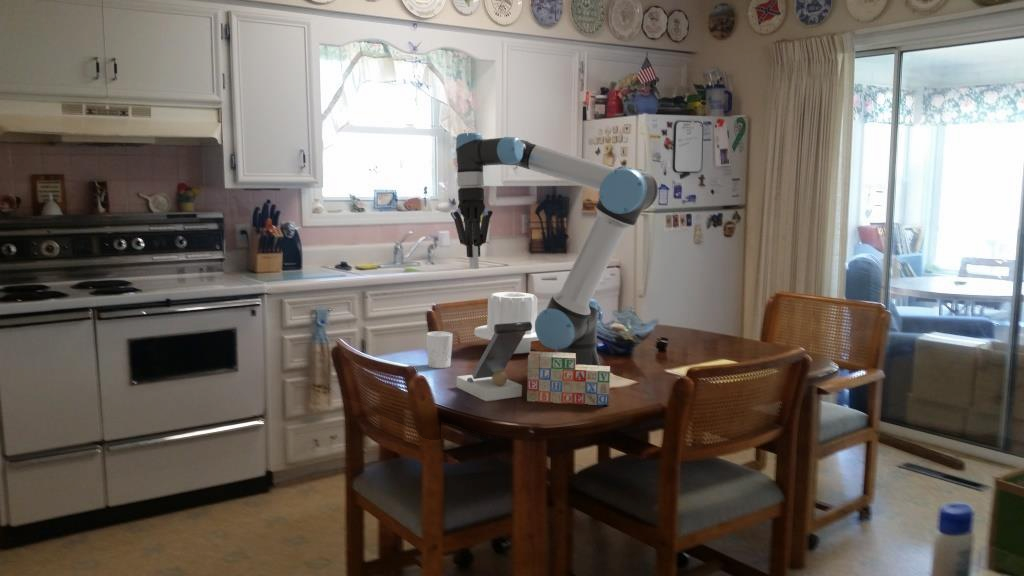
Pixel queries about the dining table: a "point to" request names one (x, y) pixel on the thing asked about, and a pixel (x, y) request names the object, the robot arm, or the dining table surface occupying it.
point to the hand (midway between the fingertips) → (474, 268)
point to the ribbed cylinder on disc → (511, 316)
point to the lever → (500, 348)
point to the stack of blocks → (566, 380)
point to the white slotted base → (490, 386)
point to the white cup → (439, 349)
